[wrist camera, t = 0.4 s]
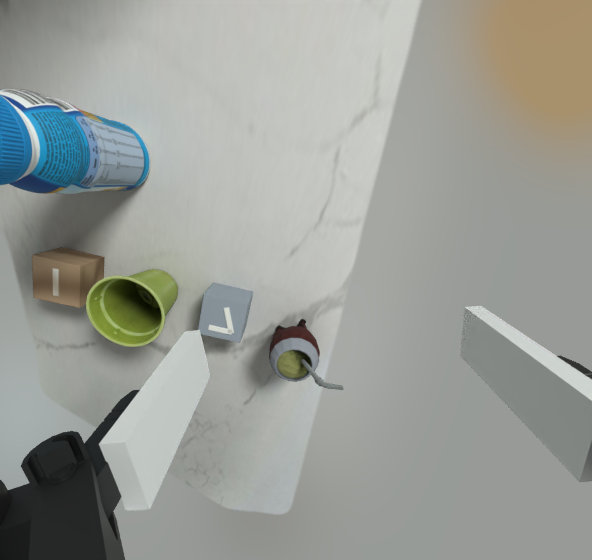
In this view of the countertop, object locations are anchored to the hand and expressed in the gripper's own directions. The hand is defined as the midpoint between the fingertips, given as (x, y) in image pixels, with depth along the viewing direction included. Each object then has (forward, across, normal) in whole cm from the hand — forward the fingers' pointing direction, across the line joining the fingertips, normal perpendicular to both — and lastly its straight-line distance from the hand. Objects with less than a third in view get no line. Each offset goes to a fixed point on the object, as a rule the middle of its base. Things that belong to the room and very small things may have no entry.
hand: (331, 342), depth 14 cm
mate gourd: (+28, -3, -15) cm, 32 cm away
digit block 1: (+28, -34, -1) cm, 44 cm away
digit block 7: (+28, -13, -9) cm, 32 cm away
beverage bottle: (+28, -24, +13) cm, 39 cm away
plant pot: (+28, -23, -5) cm, 37 cm away
